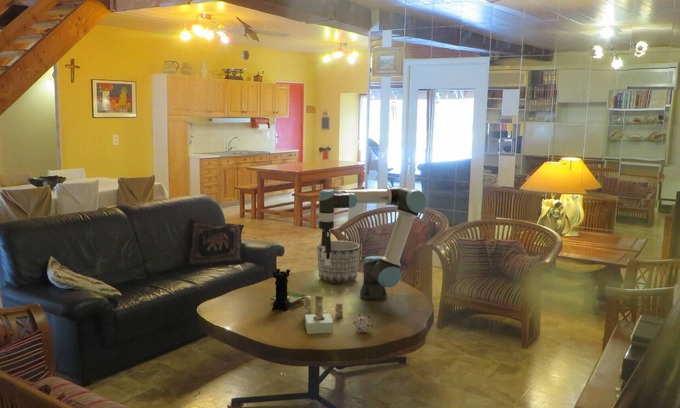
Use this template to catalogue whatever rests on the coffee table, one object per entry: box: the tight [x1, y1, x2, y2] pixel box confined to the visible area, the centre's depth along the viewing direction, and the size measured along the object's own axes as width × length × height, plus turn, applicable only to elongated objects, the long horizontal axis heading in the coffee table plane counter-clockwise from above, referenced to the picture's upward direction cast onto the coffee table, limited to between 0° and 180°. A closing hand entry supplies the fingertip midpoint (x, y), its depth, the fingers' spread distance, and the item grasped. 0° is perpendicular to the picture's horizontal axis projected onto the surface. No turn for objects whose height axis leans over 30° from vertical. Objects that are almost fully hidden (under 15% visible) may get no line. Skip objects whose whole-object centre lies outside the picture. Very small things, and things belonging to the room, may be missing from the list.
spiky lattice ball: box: [352, 313, 374, 335], centre depth 277 cm, size 9×8×10 cm
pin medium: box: [303, 295, 312, 320], centre depth 295 cm, size 4×4×11 cm
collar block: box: [304, 313, 334, 335], centre depth 281 cm, size 12×12×5 cm
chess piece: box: [271, 268, 292, 312], centre depth 309 cm, size 8×8×20 cm
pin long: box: [314, 294, 324, 321], centre depth 280 cm, size 4×4×16 cm
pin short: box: [335, 301, 344, 319], centre depth 297 cm, size 4×4×7 cm
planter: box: [316, 240, 361, 284], centre depth 361 cm, size 26×26×22 cm
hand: (325, 261), depth 301 cm, fingers open, 13 cm apart
